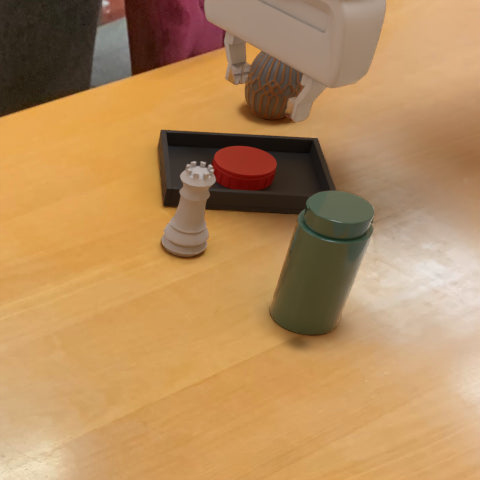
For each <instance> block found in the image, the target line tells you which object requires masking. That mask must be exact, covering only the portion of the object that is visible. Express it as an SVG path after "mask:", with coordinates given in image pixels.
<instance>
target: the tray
mask: <svg viewBox="0 0 480 480" xmlns="http://www.w3.org/2000/svg"><path fill="white" fill-rule="evenodd" d="M230 146H247V147H253V148H257V149H260V150H263V151H265V152H267V153H269V154H270V155H272V156H273V157H274V158H275V160H276V162H277V167H276V173H275V177H274V180H273V181H272V183H271V185H269V186H268V187H266V188H265V189H262V190H257V191H250V190H234V189H230V188H227V187H224V186H222V185H220V184H219V183H217V182H216V181H215V183H214V184H213V185H212V186H211V187H210V188H209V193H210V196H209V198H208V199H207V201H206V206H205V210H218V211H219V210H222V211H235V212H236V211H239V212H255V213H271V214H290V215H299V214H300V212H301V211H303V210H304V209H306V201H307V200H308V199H309V197H311V196H312V195H314V194H316V193H318V192H322V191H337V188H336V185H335V182H334V180H333V176H332V174H331V171H330V169H329V166H328V162H327V160H326V158H325V155H324V152H323V148H322V146H321V142H320V141H319V138H318V137H310V136H309V137H308V136H307V137H306V136H286V135H271V134H270V135H268V134H251V133H231V132H214V131H197V130H196V131H193V130H191V131H190V130H177V129H175V130H174V129H160V132H159V138H158V144H157V151H158V153H157V154H158V162H159V163H158V164H159V171H160V172H159V173H160V183H161V184H160V185H161V195H162V207H169V208H178V205H179V202H180V197H181V195H180V192H179V191H180V189H181V188H182V187H183V183H182V181H181V178H180V175H181V173H182V172H183V171H184V170H185V169H186V166H187V164H191V162H194V161H196V166H200V163H201V162H206V165H205V167H206V168H208V165H210V164H211V165H212V161H213V159H214V156H215V154H216V152H217V151H219V150H220V149H223V148H226V147H230Z"/></svg>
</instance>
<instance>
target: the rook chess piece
mask: <svg viewBox="0 0 480 480" xmlns="http://www.w3.org/2000/svg"><path fill="white" fill-rule="evenodd" d="M205 165H206V162H201V163H200V166H196V161H194V162H191V164H187V166H186V169H185V170H184V171H183V172H182V173H181V175H180V178H181V181H182V183H183V187H182V188H181V189H180V191H179V192H180V195H181V197H180V202H179V205H178V207H176V210H175V212H174V213H175V214H174V216H172V217H171V218H170V220H169V222H167V224H166V226H164V229H163V235H162V237H161V239H160V240H161V244H162V246H163V248H164V249H165V250H166V251H167V252H168V253H170V254H172V255H174V256H178V257H183V258H191V257H195V256H198V255H199V254H201V253H203V252H204V251H205V250H206V249H207V247H208V245H209V243H208V239H209V237H210V234H209V229H208V227H207V221H206V209H205V206H206V201H207V199H208V198H209V196H210V193H209V188H210V187H211V186H212V185H213V184H214V183H215V181H216V178H215V176H214V174H213V172H214V169H213V166H212V165H211V164H210V165H208V168H206V167H205Z"/></svg>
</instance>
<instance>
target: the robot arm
mask: <svg viewBox="0 0 480 480" xmlns="http://www.w3.org/2000/svg"><path fill="white" fill-rule="evenodd" d="M203 10H204V15H205V20H206V21H207V22H209V23H211V24H213V25H214V26H216V27H217V28H220V29H222V30H224V31H225V34H224V39H223V44H224V49H225V57H226V63H227V67H226V70H225V76H224V78H225V79H224V80H225V81H227V82H229V83H231V84H233V86H239V85H243V84H244V85H245V82H246V81H247V80H248V73H249V72H250V67H251V64H250V63H248V62H247V46H246V45H247V44H249V45H251V46H252V47H254V48H256V49H258V50H259V51H260V52H261V51H263V52H265V53H267V54H268V55H270V56H272V57H274V58H276V59H277V60H279V61H281V62H283V63H285V64H286V65H288V66H290V67H292V68H294V69H296V70H297V71H299V72H301V73H303V76H302V80H301V85H302V86H305V87H304V88H303V90H302V91H301V92H300V94H299V95H298V96H297V97H292V98H289V99H288V102H287V109H286V110H285V115H286V116H285V117H287V118H289V119H290V120H292V121H293V122H295V123H299V122H303V121H306V120H307V119H308V118H309V117H310V114H311V110H312V108H313V107H312V106H313V104H314V102H315V101H316V100H317V99H318V98H319V96H321V94H322V93H323V92H324V91H325V90H326V89H338V88H343V87H347V86H351V85H354V84H356V83H358V82H359V81H361V80H362V79H363V78H364V77H365V76H366V75H367V74H368V72H369V70H370V68H371V66H372V64H373V63H372V62H373V60H374V56H375V54H376V50H377V48H378V44H379V40H380V37H381V34H382V30H383V26H384V21H385V17H386V11H387V0H204V2H203ZM246 43H247V44H246Z"/></svg>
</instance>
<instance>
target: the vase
mask: <svg viewBox="0 0 480 480" xmlns="http://www.w3.org/2000/svg"><path fill="white" fill-rule="evenodd" d="M250 65H251V67H250V72H249V73H248V80H247V81H246V82H245V83H244V99H245V103H246V105H247V107H248V109H249V111H250V112H251V114H253V115H254V116H256V117H257V118H260V119H264V120H280V119H282V118H284V117H287V116H286V115H285V110H286V109H287V102H288V99H289V98H292V97H297V96H298V95H299V94H300V92H301V91H302V90H303V88H304V87H305V86H302V85H301V80H302V76H303V73H301V72H299V71H297V70H296V69H294V68H292V67H290V66H288V65H286V64H285V63H283V62H281V61H279V60H277V59H276V58H274V57H272V56H270V55H268V54H267V53H265V52H263V51H261V50H260V52H258V54H256V56H255V57H254V59H253V60H252V62H251V64H250Z"/></svg>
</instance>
